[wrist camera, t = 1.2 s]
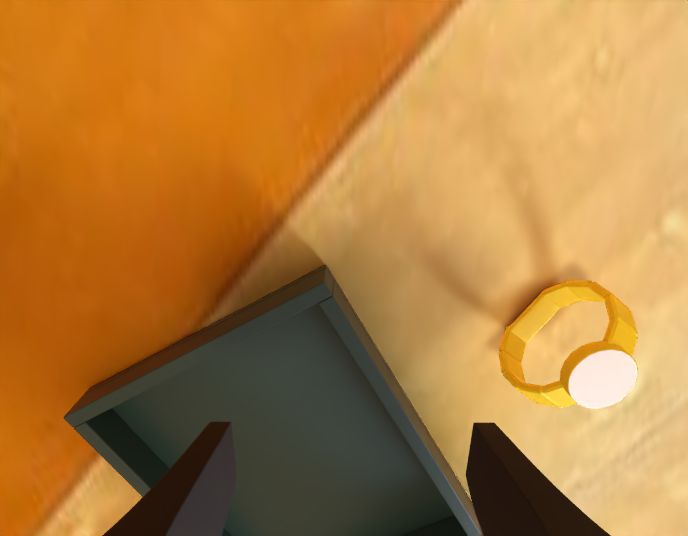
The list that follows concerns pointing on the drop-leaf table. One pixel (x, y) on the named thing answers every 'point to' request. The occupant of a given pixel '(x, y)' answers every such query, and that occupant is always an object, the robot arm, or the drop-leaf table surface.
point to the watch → (576, 351)
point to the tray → (285, 422)
